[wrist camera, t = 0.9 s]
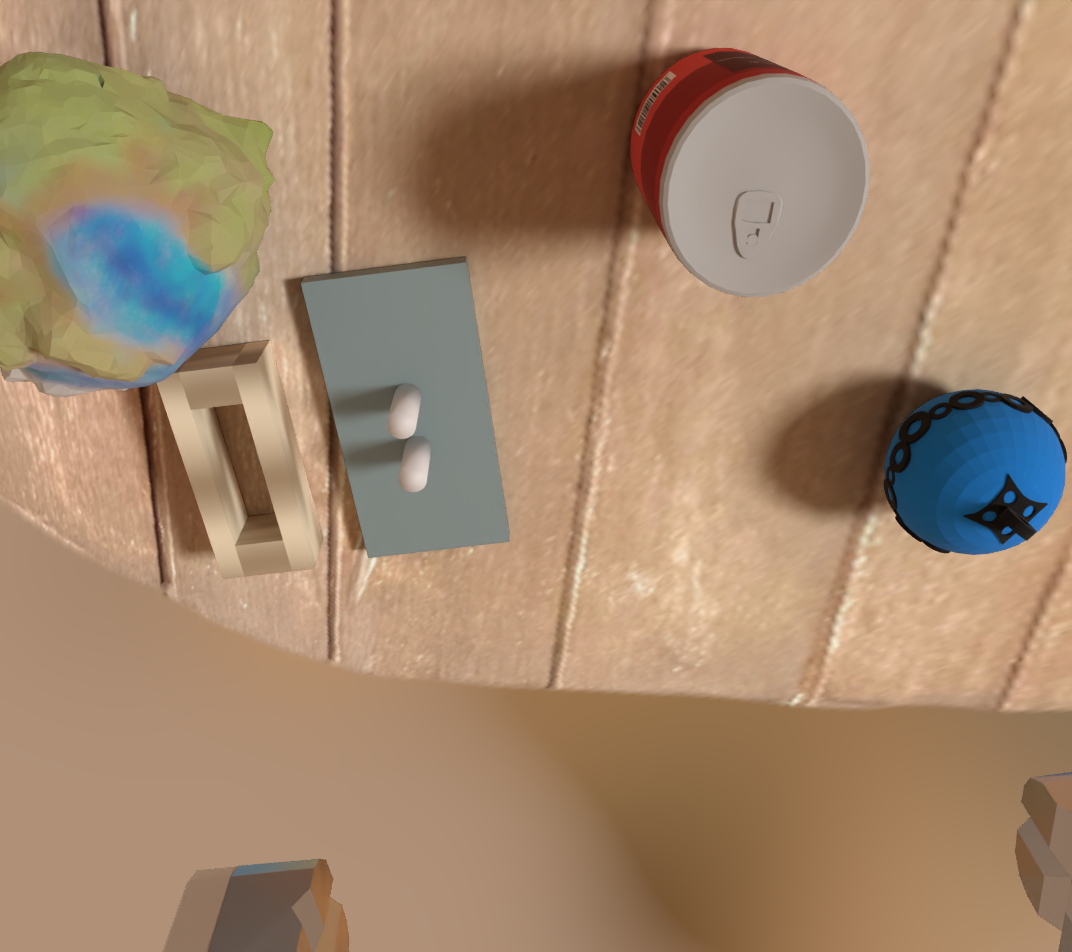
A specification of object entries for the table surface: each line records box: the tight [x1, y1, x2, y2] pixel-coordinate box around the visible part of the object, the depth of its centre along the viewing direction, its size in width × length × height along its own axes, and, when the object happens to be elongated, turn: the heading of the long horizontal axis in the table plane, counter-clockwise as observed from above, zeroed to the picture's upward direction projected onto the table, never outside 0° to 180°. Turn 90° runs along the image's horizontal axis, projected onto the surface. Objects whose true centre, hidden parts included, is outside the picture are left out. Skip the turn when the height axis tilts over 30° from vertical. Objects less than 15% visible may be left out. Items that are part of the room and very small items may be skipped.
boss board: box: [301, 257, 510, 558], centre depth 49 cm, size 16×8×4 cm, turn 7°
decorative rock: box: [0, 52, 275, 397], centre depth 39 cm, size 14×16×15 cm
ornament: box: [884, 389, 1067, 555], centre depth 48 cm, size 9×9×10 cm
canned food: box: [630, 48, 870, 297], centre depth 40 cm, size 8×8×11 cm
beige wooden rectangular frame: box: [157, 340, 323, 579], centre depth 50 cm, size 12×5×3 cm, turn 7°
